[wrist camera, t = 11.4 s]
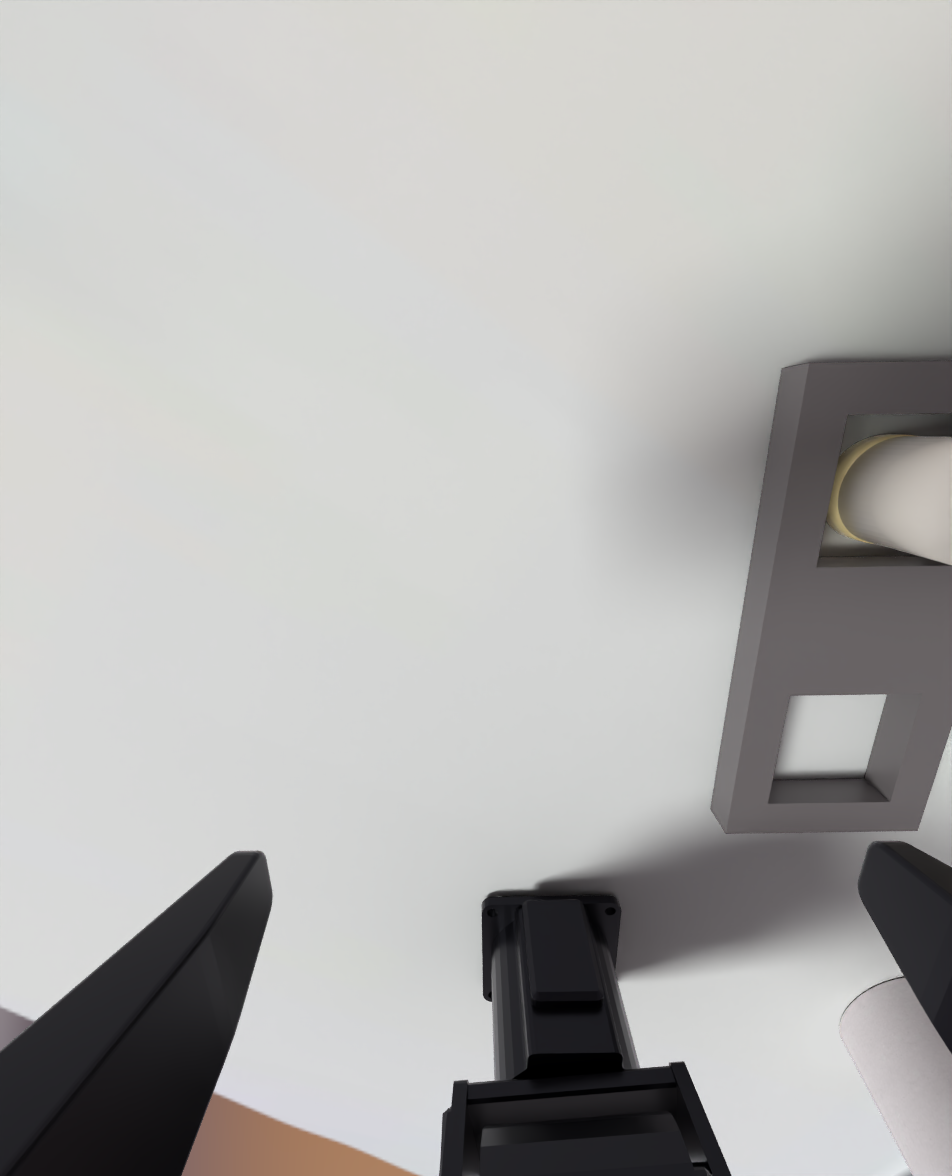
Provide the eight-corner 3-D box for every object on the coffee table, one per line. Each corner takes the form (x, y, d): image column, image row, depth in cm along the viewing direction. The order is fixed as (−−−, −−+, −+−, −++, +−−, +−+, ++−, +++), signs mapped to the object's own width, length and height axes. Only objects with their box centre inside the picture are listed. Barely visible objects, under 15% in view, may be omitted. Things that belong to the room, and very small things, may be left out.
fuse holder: (890, 806, 22) (917, 830, 20) (710, 808, 22) (725, 833, 20) (1022, 364, 16) (1071, 358, 15) (781, 368, 16) (809, 363, 15)
